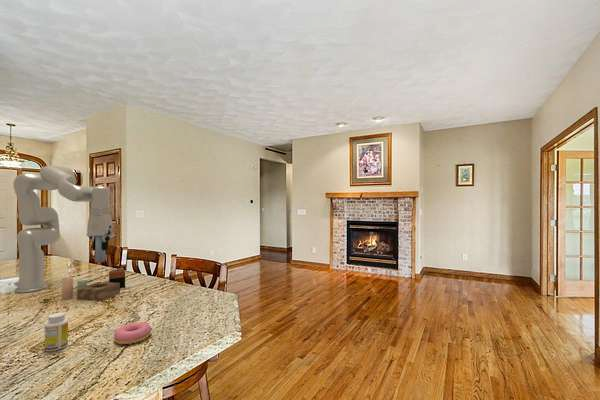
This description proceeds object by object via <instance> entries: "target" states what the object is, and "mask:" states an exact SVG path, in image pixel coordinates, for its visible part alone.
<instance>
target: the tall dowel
mask: <svg viewBox="0 0 600 400" xmlns="http://www.w3.org/2000/svg"><path fill="white" fill-rule="evenodd" d="M102 242H103V239H102V236H95V250H94V251H95V253H94V255H95V257H94V258H95V259H94V262H95V263H105V262H106V250H102Z"/></svg>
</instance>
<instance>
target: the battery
mask: <svg viewBox="0 0 600 400" xmlns="http://www.w3.org/2000/svg"><path fill="white" fill-rule="evenodd" d="M108 282H110V283H120V289H123V288H125V287H126V270H125V269H124V268H123V267H119V268H118V269H111V270H109V271H108Z"/></svg>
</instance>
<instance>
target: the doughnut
mask: <svg viewBox="0 0 600 400" xmlns="http://www.w3.org/2000/svg"><path fill="white" fill-rule="evenodd" d="M151 332H152V327H151V325H150V323H148V322H143V321H141V322H140V321H138V322H137V321H136V322H130V323H127V324H124V325H122V326H120V327H118V328H117V329H116V330H115V332H114V334H113V339H114V342H115V343H116V344H118V345H123V344H128V345H133V344H132V343H134V344H137V343H136V342H138V343H140V342H143V341H144V340H146V339H147V338H148V337H149V336H150V335H151ZM142 340H143V341H142ZM139 341H140V342H139Z"/></svg>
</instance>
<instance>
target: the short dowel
mask: <svg viewBox="0 0 600 400" xmlns="http://www.w3.org/2000/svg"><path fill="white" fill-rule="evenodd" d="M87 285H88V280H86V279H82V280H78V281H77V283H76V290H77V289H78V288H81V287H84V286H87Z"/></svg>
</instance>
